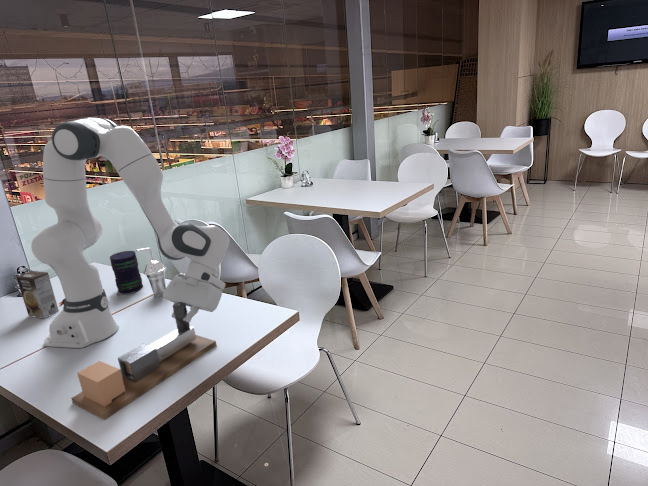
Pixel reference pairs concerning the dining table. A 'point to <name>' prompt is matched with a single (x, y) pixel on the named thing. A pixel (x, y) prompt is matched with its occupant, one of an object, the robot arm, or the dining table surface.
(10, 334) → the dining table surface
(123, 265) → the storage jar
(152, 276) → the cup with straw
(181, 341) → the grey piece
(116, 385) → the socket block
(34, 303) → the coffee box
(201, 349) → the walnut board
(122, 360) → the metal sleeve
